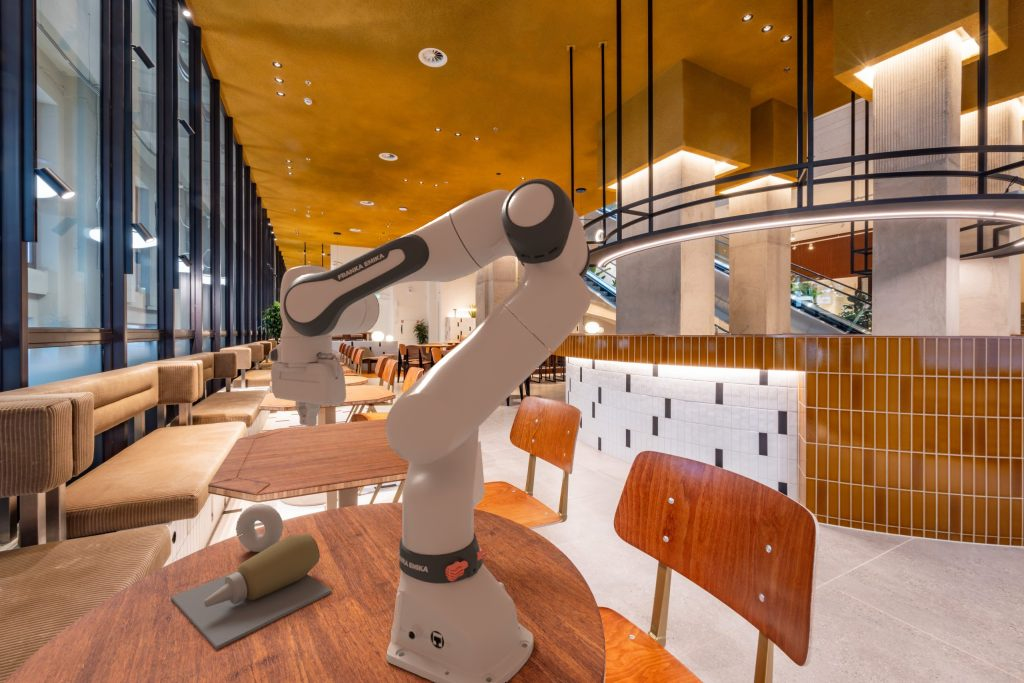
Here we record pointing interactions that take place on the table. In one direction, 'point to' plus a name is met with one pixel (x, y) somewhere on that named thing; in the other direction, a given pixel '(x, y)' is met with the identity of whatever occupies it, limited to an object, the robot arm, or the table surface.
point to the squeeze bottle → (269, 570)
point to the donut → (250, 536)
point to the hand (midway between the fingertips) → (308, 425)
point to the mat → (244, 608)
